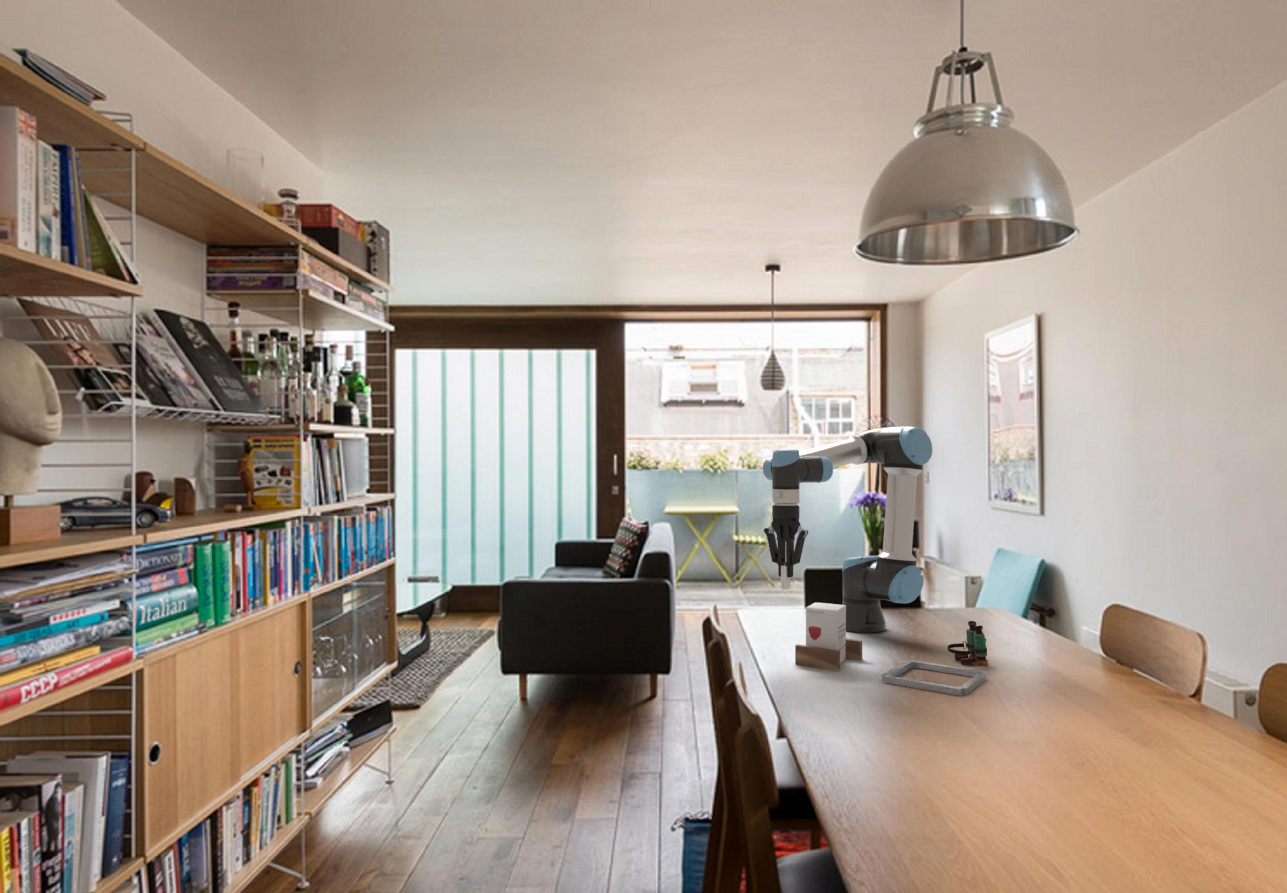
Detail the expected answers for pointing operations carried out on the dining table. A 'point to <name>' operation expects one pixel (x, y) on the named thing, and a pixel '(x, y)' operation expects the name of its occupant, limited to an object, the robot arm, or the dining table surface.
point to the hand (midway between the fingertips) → (785, 588)
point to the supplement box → (826, 627)
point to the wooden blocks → (826, 655)
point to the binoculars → (972, 646)
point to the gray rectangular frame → (964, 689)
